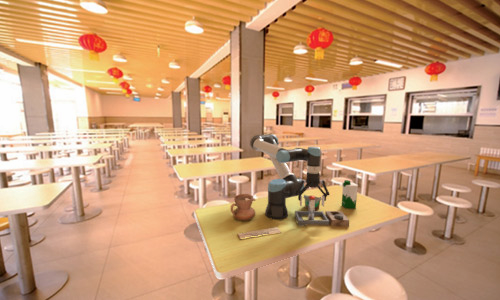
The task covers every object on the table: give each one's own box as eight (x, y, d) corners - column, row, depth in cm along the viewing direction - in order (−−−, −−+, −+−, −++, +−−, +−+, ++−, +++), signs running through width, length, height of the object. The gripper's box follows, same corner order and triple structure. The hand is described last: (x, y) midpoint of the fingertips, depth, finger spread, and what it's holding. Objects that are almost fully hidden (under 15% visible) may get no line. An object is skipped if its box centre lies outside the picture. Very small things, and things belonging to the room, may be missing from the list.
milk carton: (339, 205, 155) (341, 179, 152) (352, 205, 155) (354, 179, 152) (344, 210, 147) (346, 182, 144) (357, 210, 147) (360, 182, 144)
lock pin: (308, 221, 130) (309, 197, 127) (307, 218, 133) (308, 195, 131) (314, 221, 129) (315, 197, 127) (313, 218, 133) (314, 195, 131)
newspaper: (276, 229, 123) (276, 226, 123) (281, 235, 117) (281, 232, 116) (237, 235, 117) (237, 232, 116) (240, 242, 110) (240, 239, 110)
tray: (298, 225, 125) (298, 220, 125) (294, 216, 138) (295, 211, 138) (329, 226, 125) (329, 221, 124) (322, 216, 138) (322, 211, 137)
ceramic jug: (250, 210, 147) (249, 191, 145) (261, 218, 134) (260, 197, 132) (226, 216, 138) (225, 196, 136) (236, 226, 126) (235, 203, 124)
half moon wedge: (301, 210, 147) (301, 196, 146) (303, 206, 153) (303, 193, 151) (319, 213, 142) (320, 199, 140) (321, 210, 147) (321, 196, 146)
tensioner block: (331, 227, 123) (332, 217, 122) (325, 218, 135) (325, 208, 134) (348, 228, 123) (349, 217, 122) (340, 218, 135) (341, 208, 134)
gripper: (293, 173, 124) (292, 207, 127) (336, 174, 123) (334, 208, 126) (291, 170, 131) (290, 202, 134) (331, 170, 130) (330, 203, 133)
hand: (311, 205), depth 130 cm, fingers open, 13 cm apart
